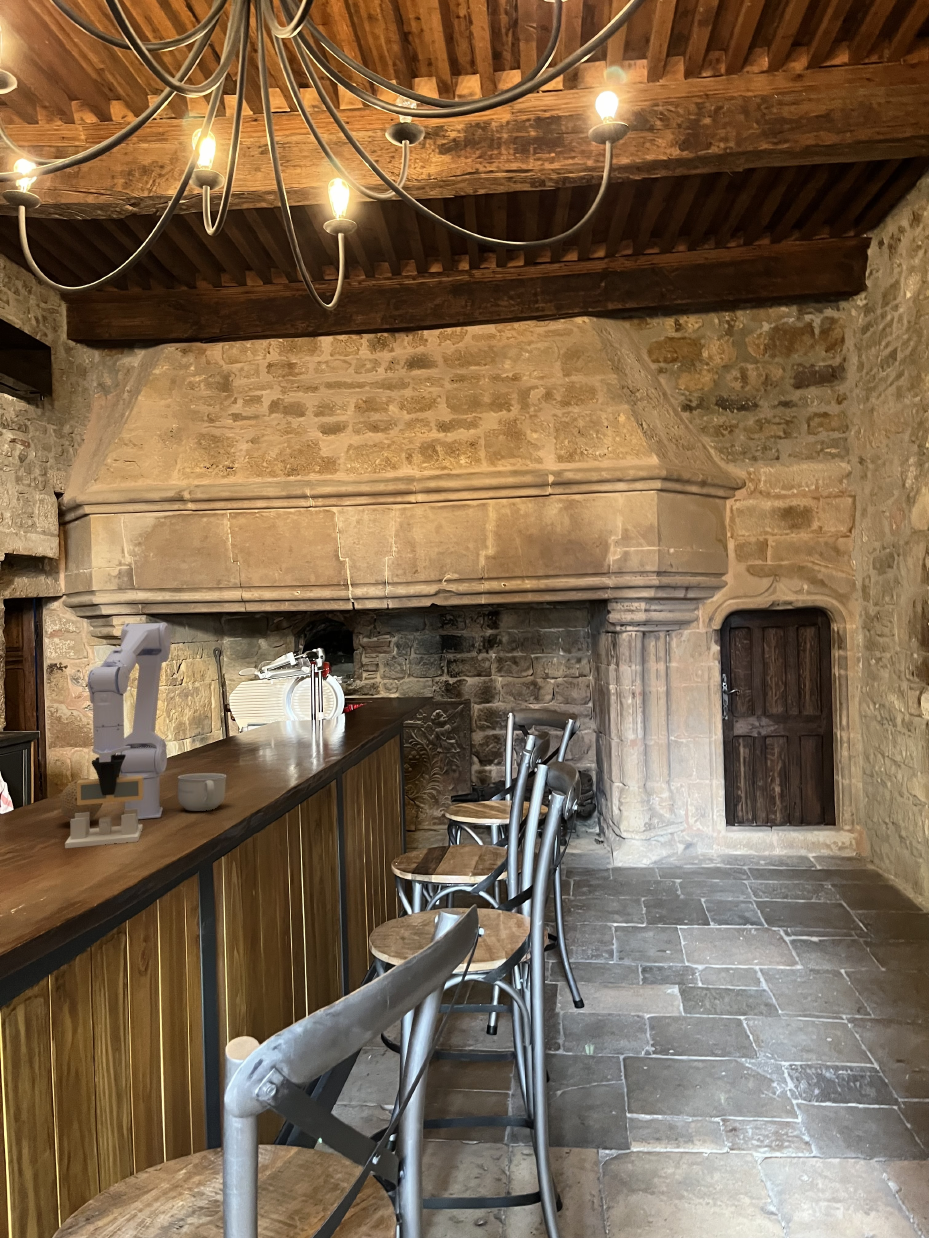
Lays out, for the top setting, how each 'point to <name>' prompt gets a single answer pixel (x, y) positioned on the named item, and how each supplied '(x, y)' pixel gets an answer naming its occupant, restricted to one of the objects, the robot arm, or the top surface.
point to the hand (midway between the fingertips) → (109, 793)
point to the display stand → (103, 830)
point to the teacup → (201, 791)
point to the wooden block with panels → (124, 791)
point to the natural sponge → (70, 802)
